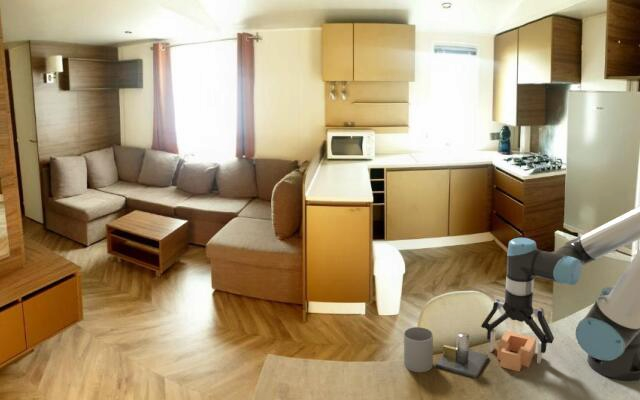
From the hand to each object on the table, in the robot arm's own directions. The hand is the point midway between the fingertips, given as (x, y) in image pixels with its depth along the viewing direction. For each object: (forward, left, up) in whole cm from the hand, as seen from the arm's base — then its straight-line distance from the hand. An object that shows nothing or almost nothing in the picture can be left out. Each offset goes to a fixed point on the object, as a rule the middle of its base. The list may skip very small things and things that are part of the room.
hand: (515, 355), depth 162 cm
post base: (+13, +11, 0) cm, 17 cm away
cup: (+24, +18, 0) cm, 30 cm away
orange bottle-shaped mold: (0, +2, 0) cm, 2 cm away
